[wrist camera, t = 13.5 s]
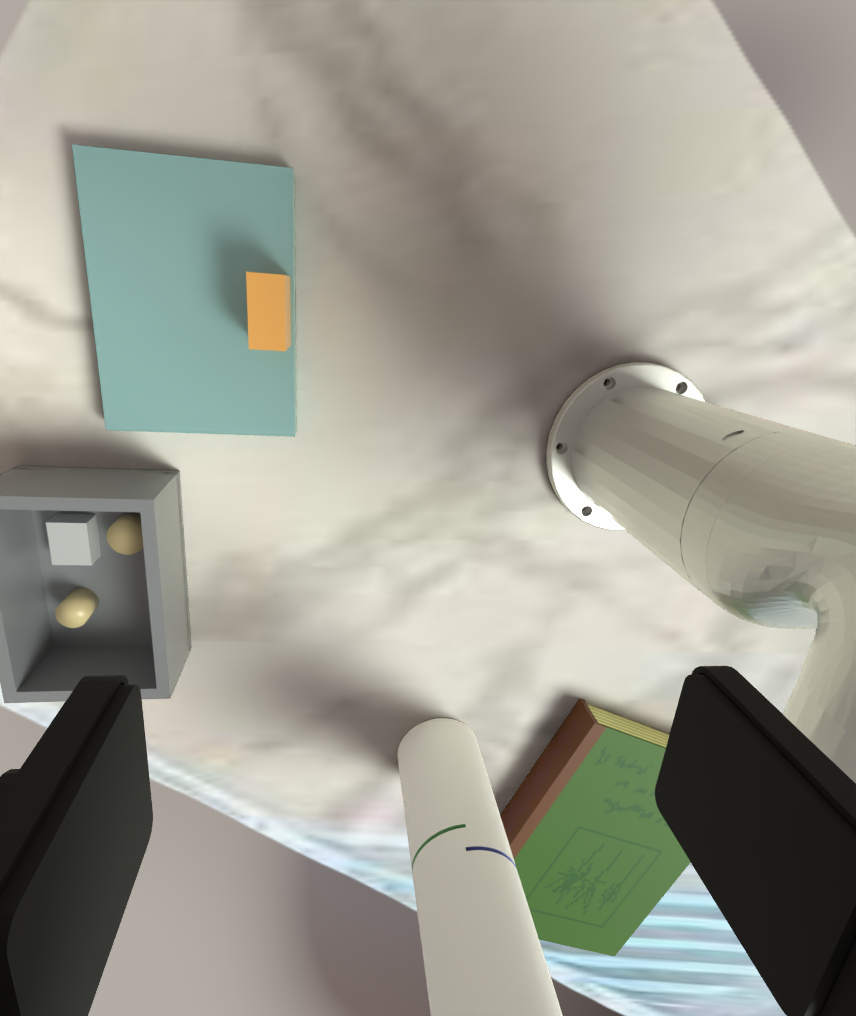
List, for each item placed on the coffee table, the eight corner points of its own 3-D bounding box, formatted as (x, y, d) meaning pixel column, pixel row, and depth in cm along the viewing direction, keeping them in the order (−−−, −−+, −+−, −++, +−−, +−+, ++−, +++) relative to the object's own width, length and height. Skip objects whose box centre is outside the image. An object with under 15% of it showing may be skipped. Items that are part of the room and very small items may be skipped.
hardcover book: (577, 694, 52) (594, 723, 48) (730, 751, 57) (755, 781, 54) (446, 888, 58) (453, 926, 54) (595, 924, 63) (610, 961, 60)
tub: (179, 470, 40) (153, 499, 34) (191, 647, 44) (170, 698, 39) (17, 465, 38) (-38, 495, 32) (48, 649, 43) (4, 703, 37)
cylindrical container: (467, 784, 53) (569, 1166, 30) (390, 781, 52) (434, 1180, 28) (485, 720, 51) (609, 1080, 28) (405, 715, 49) (465, 1090, 26)
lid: (294, 173, 35) (286, 151, 29) (296, 431, 40) (290, 451, 35) (83, 151, 33) (35, 124, 27) (114, 424, 38) (79, 445, 33)
